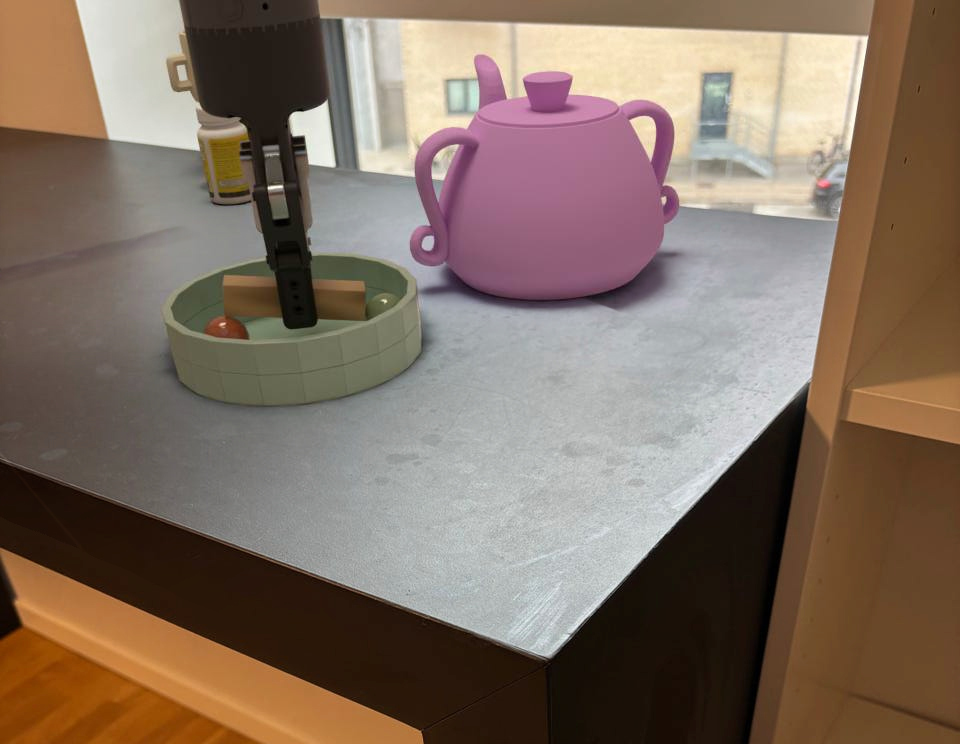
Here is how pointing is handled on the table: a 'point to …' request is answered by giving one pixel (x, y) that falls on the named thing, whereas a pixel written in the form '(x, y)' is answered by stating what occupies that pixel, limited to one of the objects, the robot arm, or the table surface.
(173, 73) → the character mug
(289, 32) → the robot arm
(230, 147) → the supplement bottle
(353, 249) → the table surface
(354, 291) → the wooden block
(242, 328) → the terracotta bead
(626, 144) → the teapot
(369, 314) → the sage bead
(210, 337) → the bowl
